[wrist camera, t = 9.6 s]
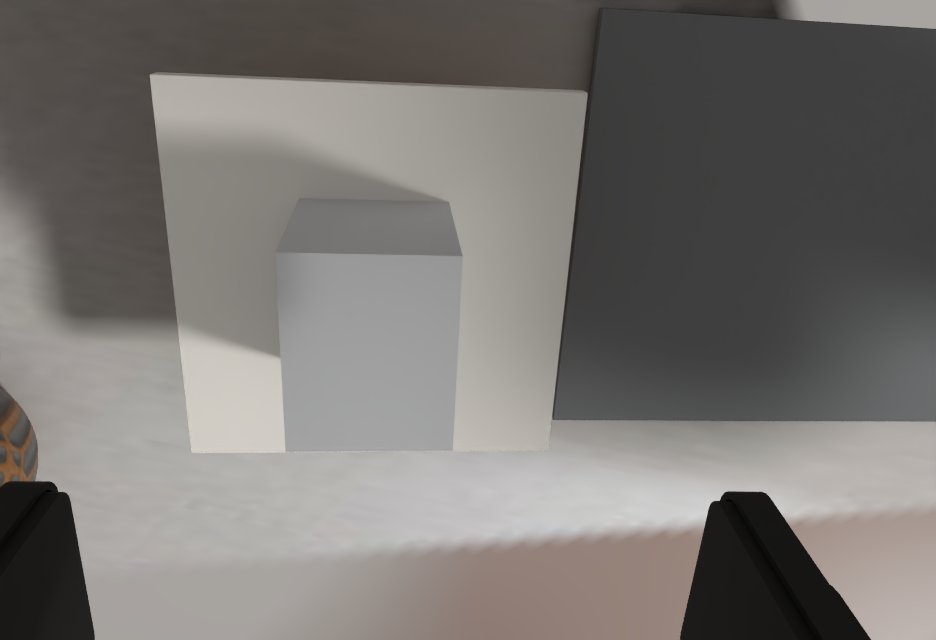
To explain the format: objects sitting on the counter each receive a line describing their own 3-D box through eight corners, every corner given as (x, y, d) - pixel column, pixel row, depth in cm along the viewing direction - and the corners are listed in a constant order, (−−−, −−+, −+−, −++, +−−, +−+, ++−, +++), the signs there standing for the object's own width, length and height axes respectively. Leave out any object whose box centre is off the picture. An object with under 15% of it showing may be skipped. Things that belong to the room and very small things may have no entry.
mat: (1162, 43, 26) (1173, 44, 26) (1013, 416, 32) (1020, 421, 32) (599, 8, 24) (603, 8, 24) (551, 414, 30) (553, 419, 30)
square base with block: (582, 90, 20) (638, 121, 16) (545, 440, 25) (579, 545, 20) (156, 71, 19) (80, 99, 15) (196, 441, 24) (147, 554, 19)
